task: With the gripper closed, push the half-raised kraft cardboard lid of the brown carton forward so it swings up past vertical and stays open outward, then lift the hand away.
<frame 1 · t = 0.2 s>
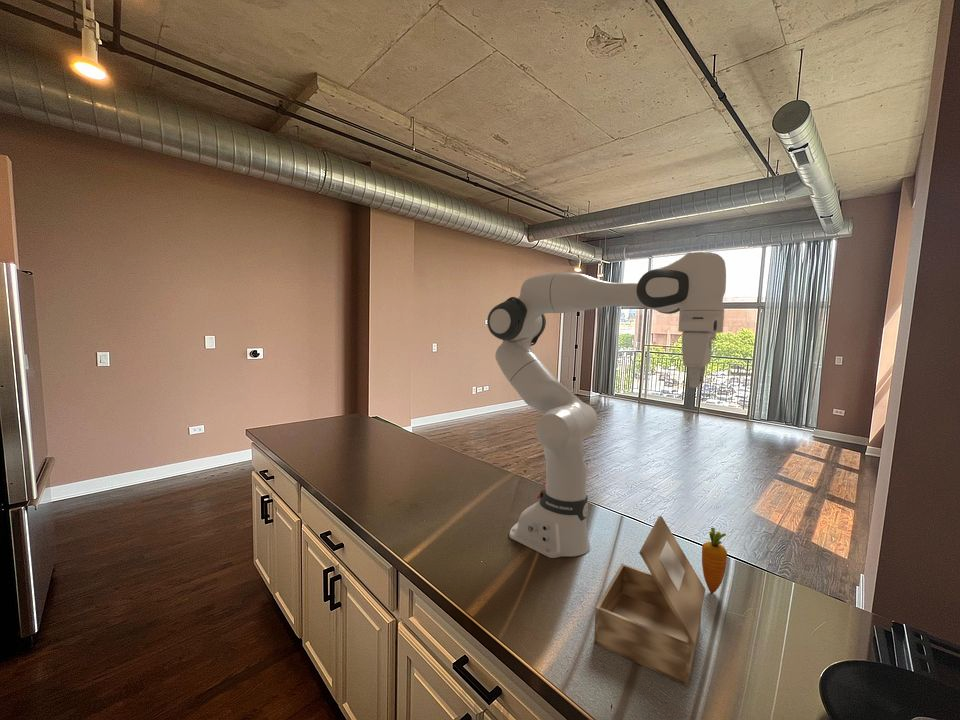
hand: (696, 385, 91), 47 cm above the worktop, fingers open, 8 cm apart
white rounded figure: (667, 570, 100), on the worktop
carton: (649, 633, 78), on the worktop
lid: (674, 572, 75), point 14 cm above the worktop, hinge at 55.0°
carrot: (711, 593, 91), on the worktop
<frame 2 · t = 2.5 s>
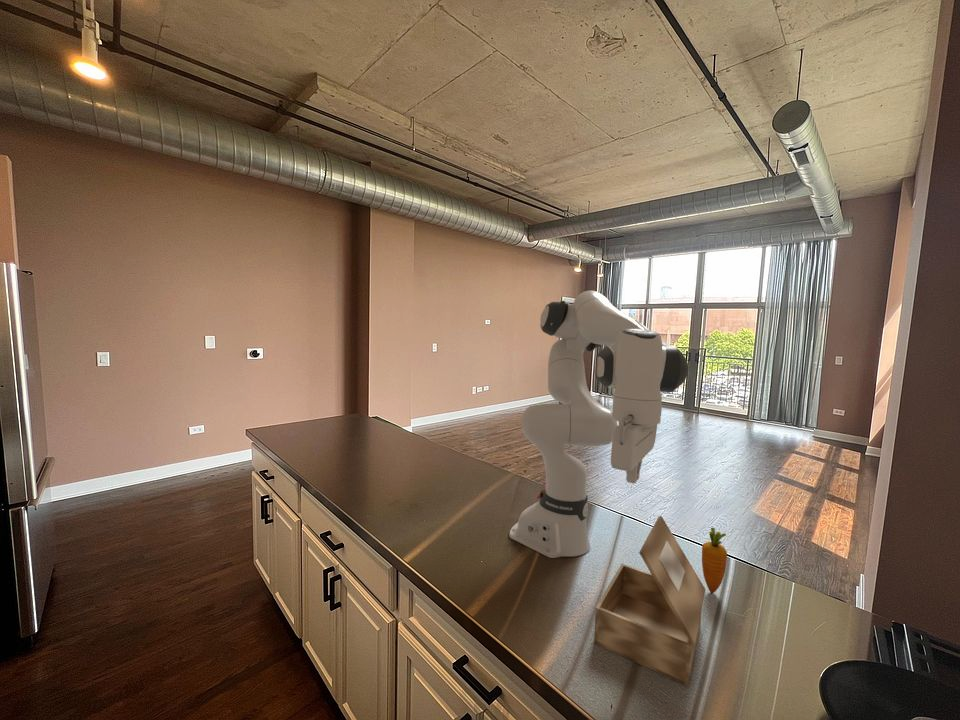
hand: (632, 480, 79), 29 cm above the worktop, fingers closed
nothing on the worktop moved.
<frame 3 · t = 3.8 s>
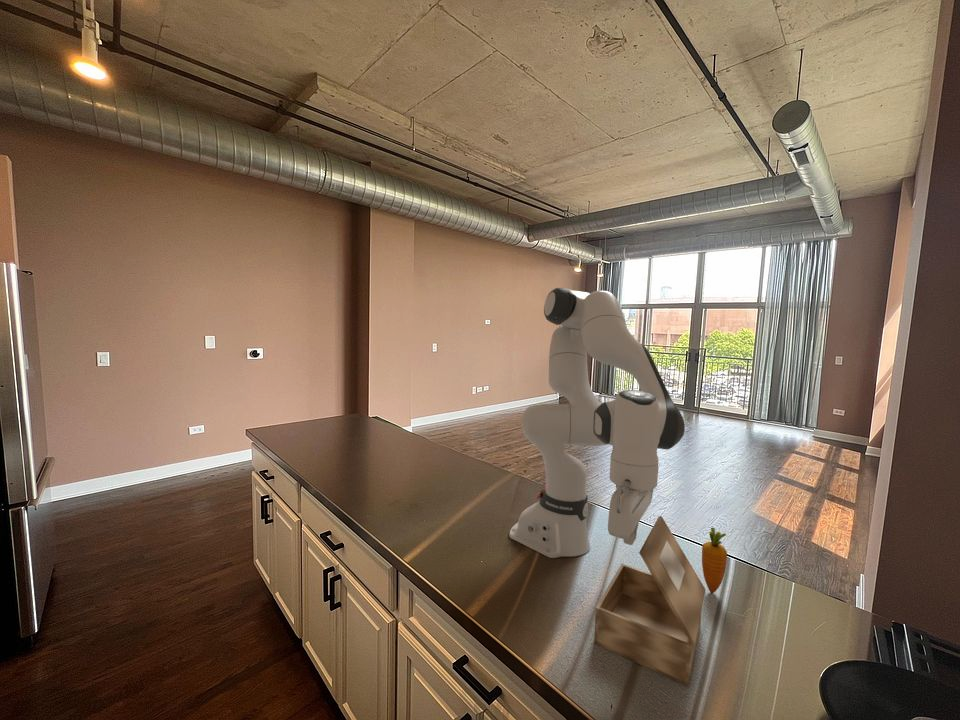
hand: (629, 541, 80), 17 cm above the worktop, fingers closed
nothing on the worktop moved.
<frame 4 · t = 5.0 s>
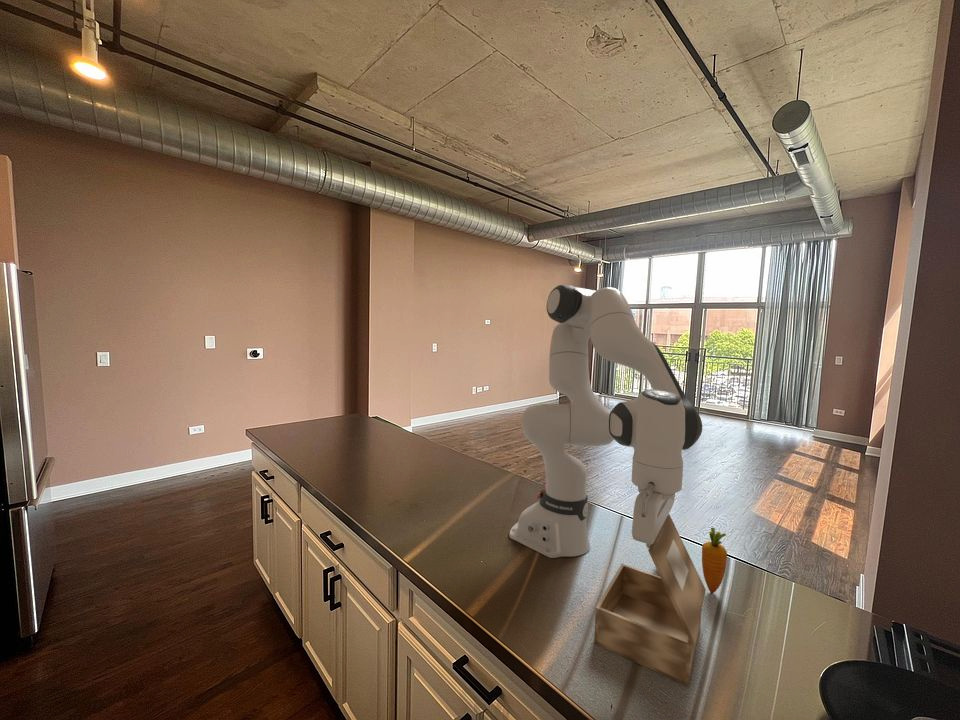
hand: (652, 546, 77), 18 cm above the worktop, fingers closed, pressing on lid
lid: (679, 571, 75), point 14 cm above the worktop, hinge at 61.3°, touching gripper
everything else where it was.
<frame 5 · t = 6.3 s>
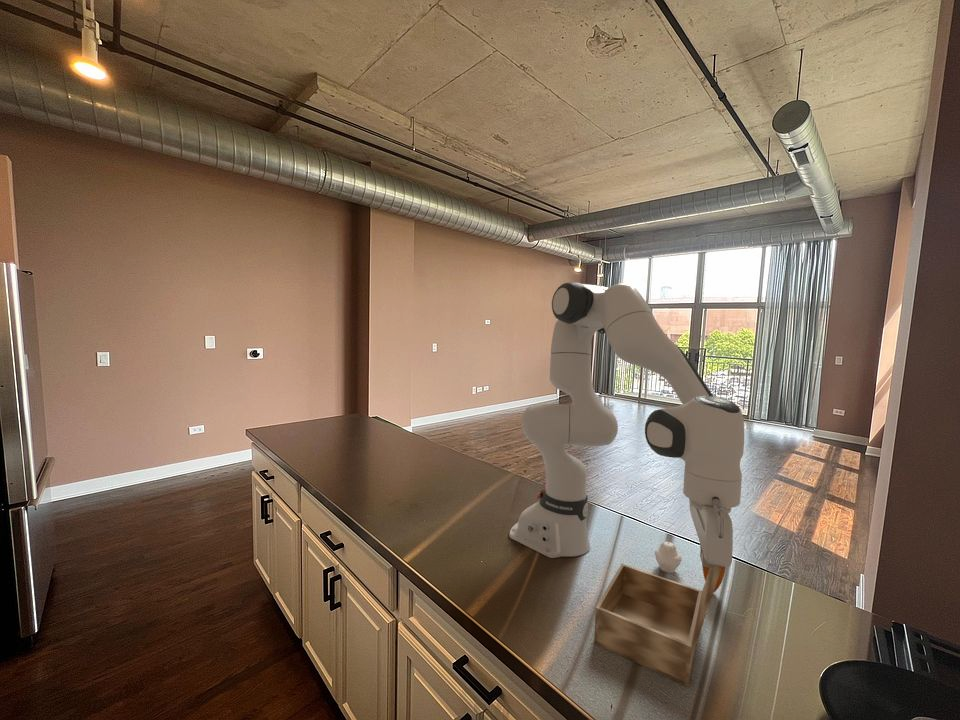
hand: (706, 563, 72), 17 cm above the worktop, fingers closed
lid: (711, 578, 72), point 15 cm above the worktop, hinge at 101.3°, touching gripper
everything else where it was.
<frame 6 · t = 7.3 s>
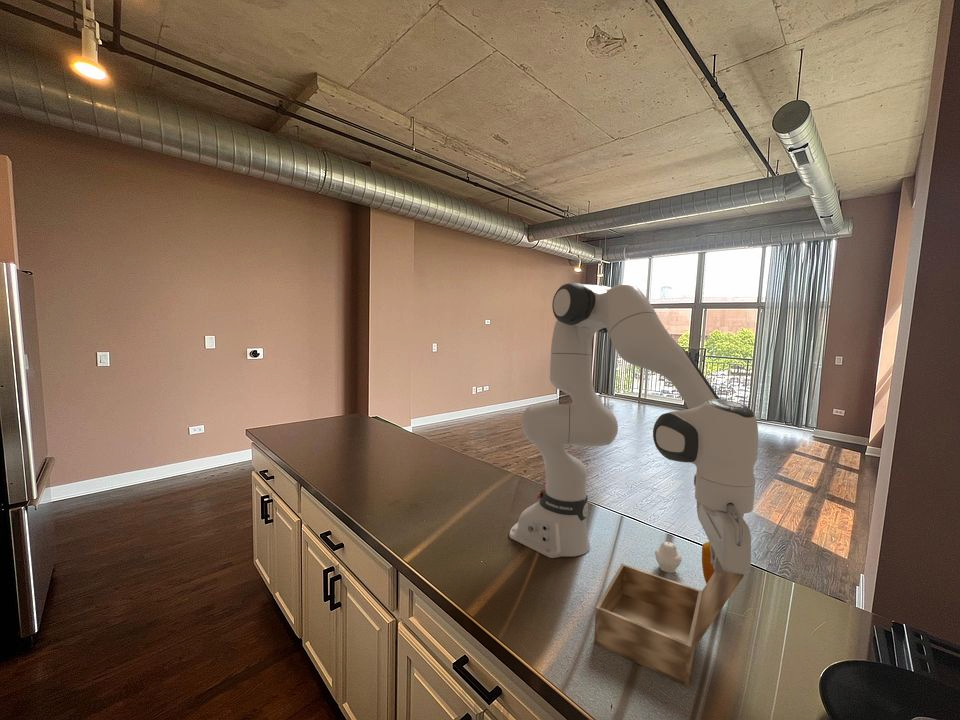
hand: (718, 569, 71), 17 cm above the worktop, fingers closed
lid: (720, 584, 71), point 14 cm above the worktop, hinge at 112.2°, touching gripper
everything else where it was.
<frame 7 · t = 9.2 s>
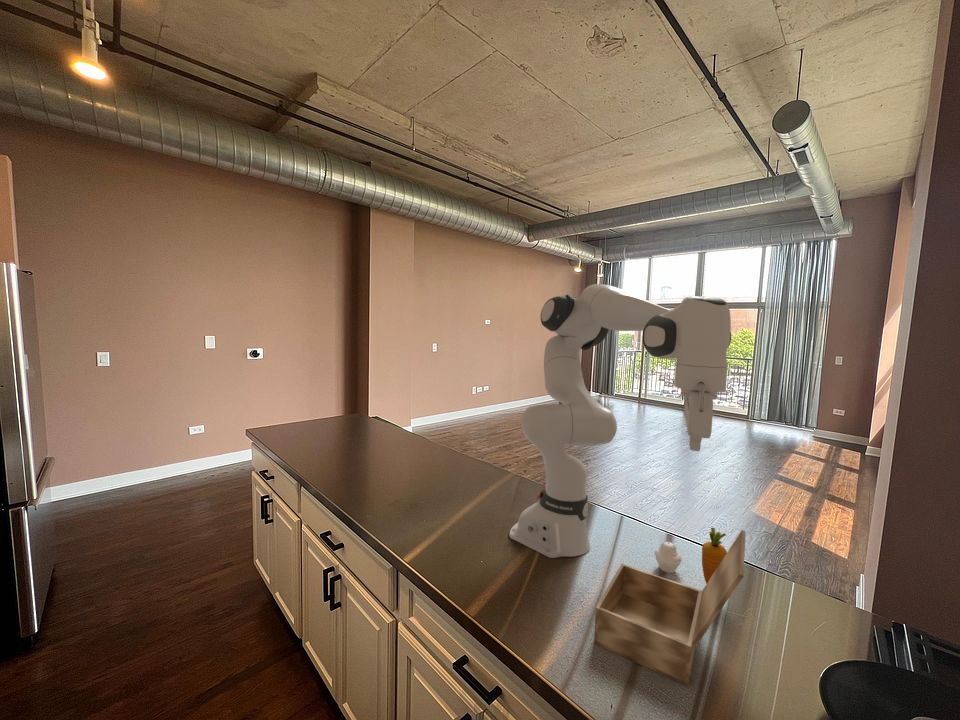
hand: (694, 449, 79), 36 cm above the worktop, fingers closed
lid: (720, 584, 71), point 14 cm above the worktop, hinge at 112.2°
everything else where it was.
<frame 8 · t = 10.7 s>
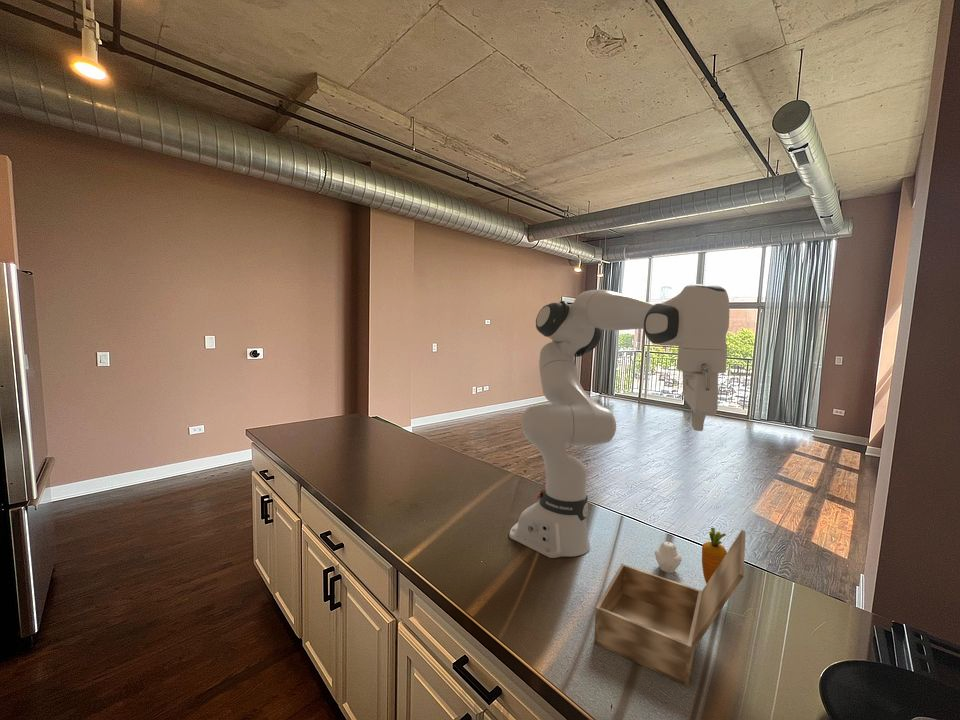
hand: (697, 429, 83), 39 cm above the worktop, fingers closed
nothing on the worktop moved.
at the end: lid at +112° (first picture: +55°) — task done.
